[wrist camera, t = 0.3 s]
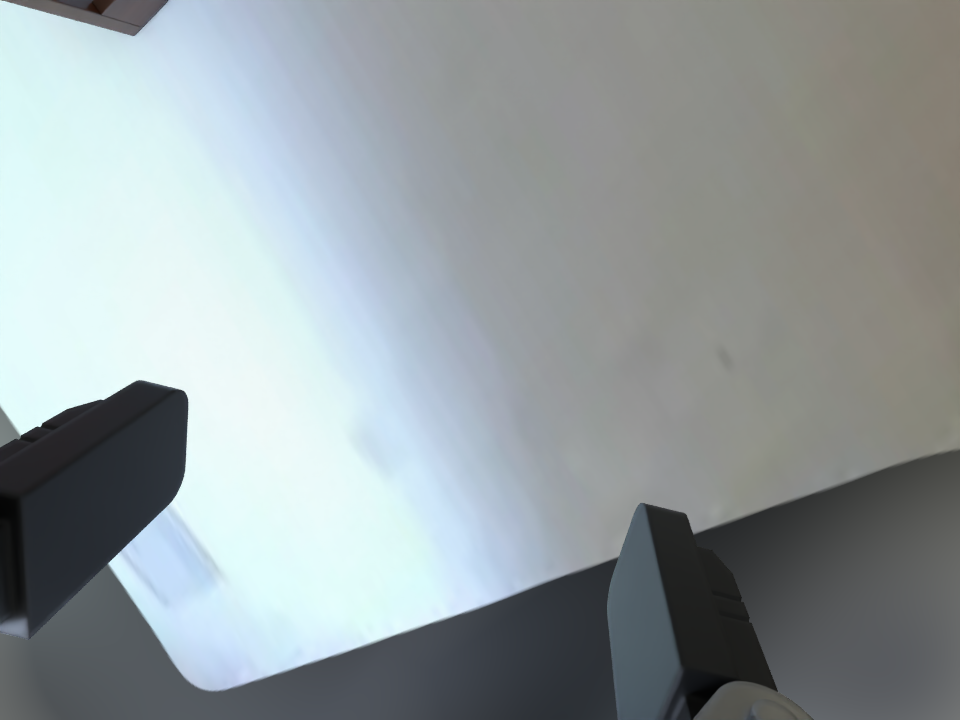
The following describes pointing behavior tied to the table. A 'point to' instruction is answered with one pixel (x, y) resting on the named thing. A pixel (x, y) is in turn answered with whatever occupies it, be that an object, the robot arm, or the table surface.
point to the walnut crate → (101, 12)
